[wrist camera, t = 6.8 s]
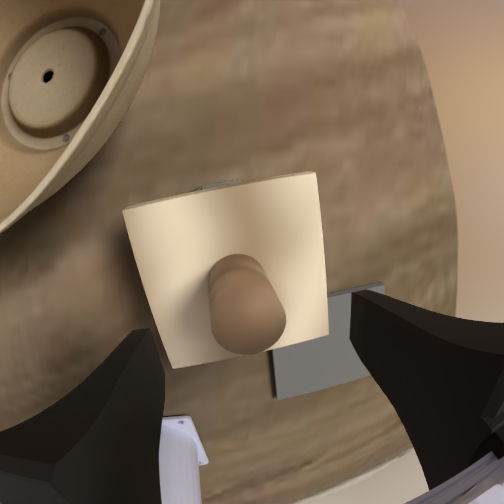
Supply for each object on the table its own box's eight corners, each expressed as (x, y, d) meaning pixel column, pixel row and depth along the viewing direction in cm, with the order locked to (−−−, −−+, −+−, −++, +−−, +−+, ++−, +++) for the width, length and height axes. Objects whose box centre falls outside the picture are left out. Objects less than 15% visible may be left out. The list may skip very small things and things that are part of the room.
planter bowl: (236, 54, 16) (277, -42, 6) (72, 249, 18) (-18, 337, 8) (78, -48, 11) (28, -126, 1) (-52, 122, 13) (-149, 130, 3)
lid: (173, 358, 17) (169, 421, 12) (127, 206, 14) (94, 233, 9) (322, 325, 18) (358, 378, 13) (308, 171, 15) (355, 182, 10)
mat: (276, 395, 24) (277, 399, 24) (267, 305, 21) (268, 309, 21) (371, 369, 25) (374, 373, 25) (380, 281, 22) (384, 284, 22)
